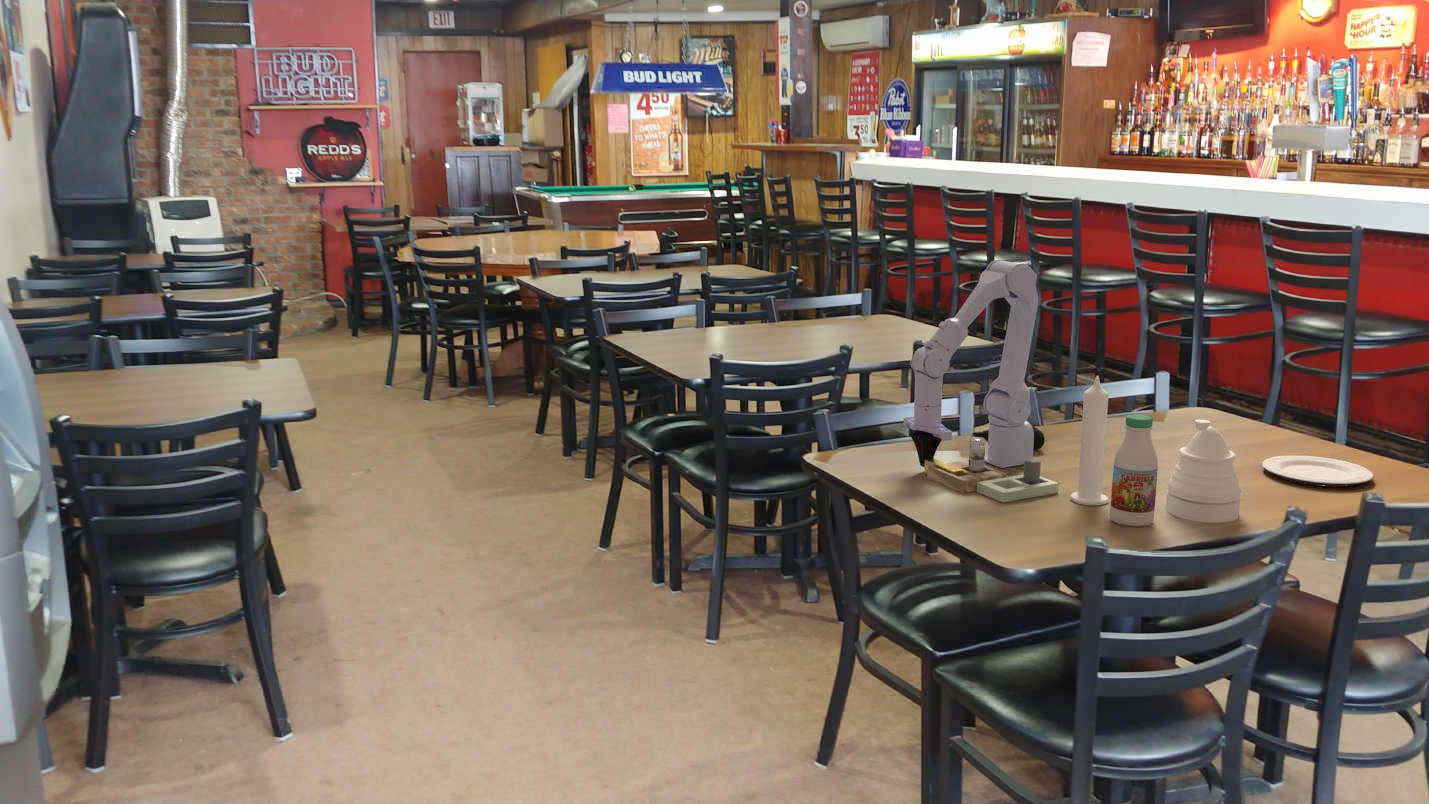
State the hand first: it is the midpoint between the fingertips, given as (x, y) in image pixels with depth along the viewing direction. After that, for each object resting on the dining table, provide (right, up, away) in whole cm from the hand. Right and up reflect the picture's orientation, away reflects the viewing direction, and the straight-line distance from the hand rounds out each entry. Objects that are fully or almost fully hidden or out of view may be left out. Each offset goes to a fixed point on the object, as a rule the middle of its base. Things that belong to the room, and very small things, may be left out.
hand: (925, 465), depth 245 cm
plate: (+81, -2, -5) cm, 81 cm away
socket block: (+8, -3, -7) cm, 11 cm away
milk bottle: (+32, -9, -32) cm, 46 cm away
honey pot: (+47, -7, -27) cm, 55 cm away
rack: (+16, -4, -15) cm, 22 cm away
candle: (+28, -6, -20) cm, 35 cm away
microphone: (+24, +4, +22) cm, 33 cm away
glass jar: (+9, -3, -7) cm, 12 cm away
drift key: (+3, -2, -5) cm, 6 cm away
